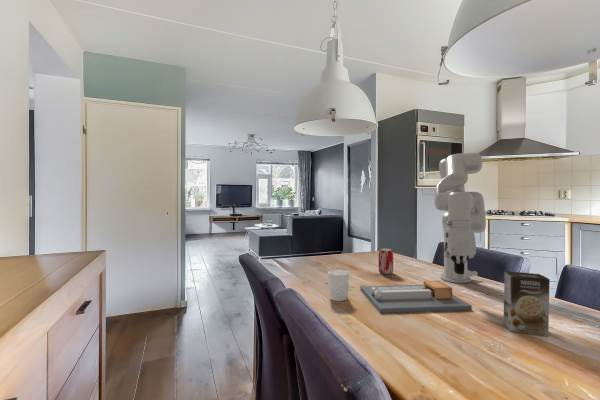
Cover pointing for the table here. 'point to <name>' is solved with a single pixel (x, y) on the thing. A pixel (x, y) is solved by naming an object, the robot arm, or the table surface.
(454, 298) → the board
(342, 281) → the white cup
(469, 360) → the table surface
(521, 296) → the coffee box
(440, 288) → the tray
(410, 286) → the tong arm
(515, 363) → the table surface
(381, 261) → the soda can
